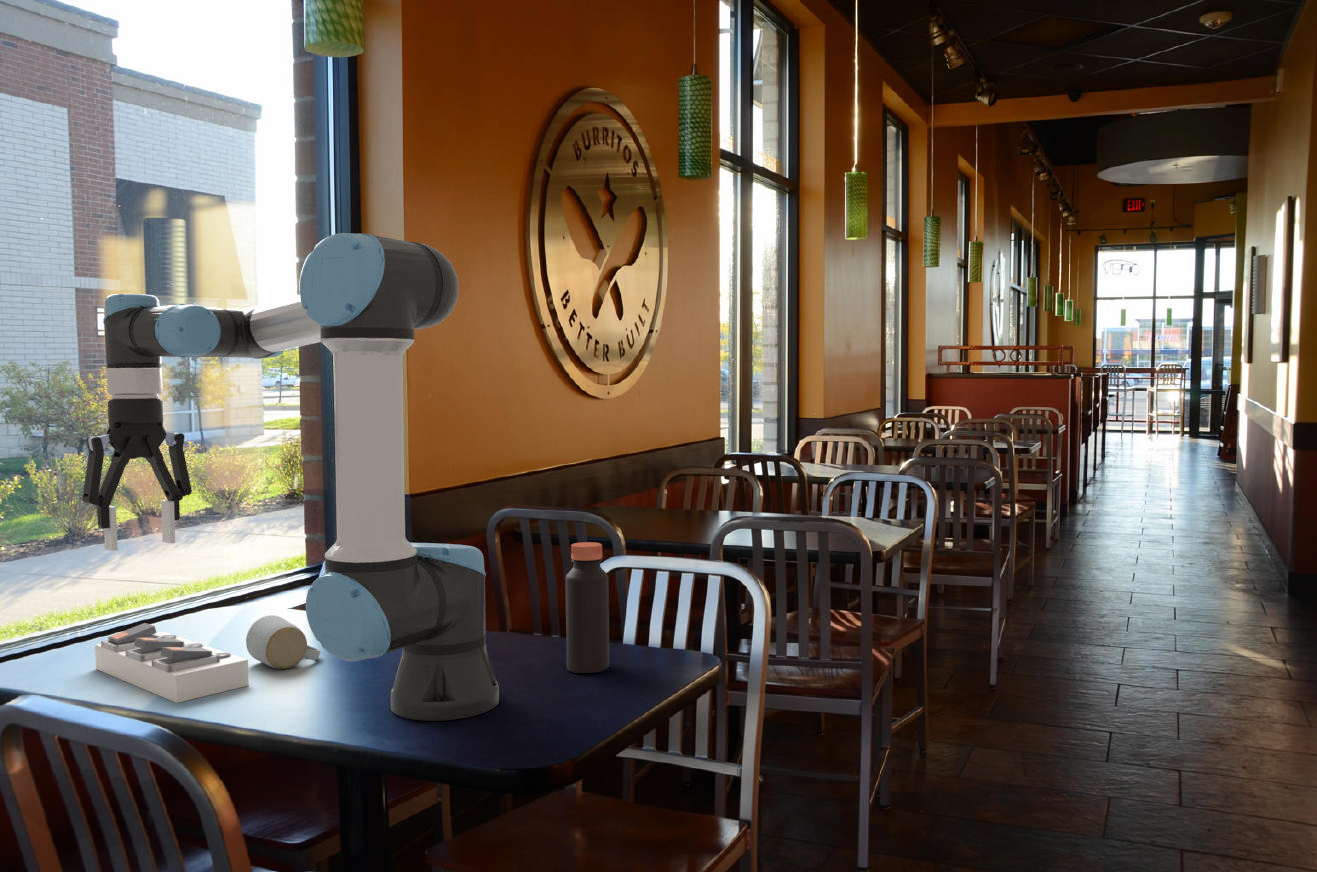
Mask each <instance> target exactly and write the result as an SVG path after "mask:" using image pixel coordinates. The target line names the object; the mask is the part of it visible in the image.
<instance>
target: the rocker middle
mask: <svg viewBox="0 0 1317 872" xmlns="http://www.w3.org/2000/svg"><path fill="white" fill-rule="evenodd" d="M183 645H184V642H183V641H180V640H177V639H174V638H135V644H134V646H137V647H139V648H142V649H162V647H183Z"/></svg>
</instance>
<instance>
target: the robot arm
mask: <svg viewBox="0 0 1317 872" xmlns="http://www.w3.org/2000/svg"><path fill="white" fill-rule="evenodd" d="M459 283H460V282H459V277H458V274H457V272H456V270H455V267H454V266H453V264H452V263H451V261H450V260H449V259H448V258H447V256H445V255H444V254H443V253H442V252H441V251H440V250H438V249H436V248H435V247H433V246H431V245H428V244H426V243H422V242H421V243H420V242H417V241H407V240H401V239H395V238H392V237H384V236H378V235H373V234H369V233H354V232H353V233H351V232H350V233H347V232H341V233H340V232H339V233H334V234H331V235H329V236H326V237H325V238H323V239H322V240H320V241H319V242H318V243H317V244H316V245H315V246H314V248H313V251H311V252H309V254H308V255H307V256H306V259H305V261H304V263H303V265H302V269H301V272H300V276H299V281H298V285H299V286H298V288H299V289H298V290H299V291H298V292H299V294H298V295H294V296H290V297H287V298H283V299H279V300H275V301H271V302H267V303H264V304H261V305H257V306H252V307H248V308H241V309H240V308H222V307H221V308H220V307H207V306H203V305H199V304H187V303H177V304H175V305H163V306H160V300H159V298H158V297H157V296H156V295H152V294H146V293H145V294H144V293H142V294H141V293H122V294H121V293H115V294H110V295H108V296H107V297H106V298H105V299H104V317H103V326H104V327H103V329H104V330H103V331H104V345H105V346H104V347H105V363H106V369H105V370H106V390H107V391H106V392H107V394H108V395H109V396H111V398H109V399H108V401H107V422H108V429H107V431H106V433H105V434H103V435H99V436H88V437H86V439H85V440H86V445H87V450H88V455H87V456H88V457H87V463H86V470H85V479H84V485H83V493H82V502H83V503H85V504H90V505H93V506H95V507H96V517H97V519H96V520H97V522H96V523H97V527H98V528H99V529H103V531H104V533H103V537H104V540H103V541H104V550H108V551H112V552H113V551H114V552H115V551H118V549H119V548H118V547H119V546H118V524H117V523H118V522H117V506H113V505H111V504H112V500H113V499H114V496H115V494H116V491H117V488H118V486H119V484H120V481H121V479H122V476H123V474H124V471H125V469H126V466H127V465H128V464H129V462H130V460H132V459H133V460H135V459H138V458H140V459H141V458H143V459H145V460H146V462H148V463H149V465H150V467H151V469H152V471H153V474H154V475H155V477H156V479H157V481H158V484H159V485H160V488H161V489H162V491H163V494H164V496H165V498H166V499H165V500H160V505H161V506H160V507H161V508H160V509H161V511H160V512H161V534H162V535H161V536H162V543H168V544H176V523H175V521H180V516H181V514H180V512H181V510H180V509H181V508H180V501H182V500H183V498H184V497H186V496H190V495H191V494H192V492H193V489H192V486H191V485H192V484H191V480H190V476H189V471H188V466H187V461H186V456H185V450H184V443H185V434H184V433H182V432H167V431H166V429H165V427H164V424H163V423H164V404H163V400H162V398H161V397H159V395H162V394H163V374H162V372H163V371H162V358H169V357H170V358H184V359H185V358H249V359H250V358H251V359H252V358H253V359H257V360H259V359H267V358H277V357H279V356H281V355H282V354H283V352H284V351H286V350H290V349H295V348H299V347H303V346H308V345H312V344H317V343H321V344H323V345H324V346H325V347H326V348H327V349H328V351H329V352H330V353H331V354H332V356H333V397H334V398H333V400H334V401H333V402H334V403H333V405H334V408H333V409H334V447H335V449H334V451H335V452H334V453H335V454H334V457H335V503H336V508H335V510H336V511H335V512H336V541H335V543H334V544H332V546H330V548H329V549H327V551H325V553H324V573H323V574H322V575H320V576H318V577H317V578H316V579H315V580H314V581H313V582H312V583H311V587H309V588H308V590H307V593H306V597H305V612H306V613H305V614H306V619H307V622H308V625H309V628H310V631H311V632H312V635H313V637H314V638H315V640H316V641H317V642H319V644H321V647H322V648H323V649H324V650H325V652H327V653H328V654H330V655H331V656H332V657H334V658H336V659H339V660H342V661H346V662H358V661H363V660H366V659H367V660H368V659H375V658H380V657H382V656H383V655H385V654H387V653H391V652H393V651H397V650H399V649H402V652H401V653H402V654H401V657H400V662H399V664H398V668H397V671H396V675H395V679H394V682H393V687H392V689H391V691H390V710H391V712H392V713H393V714H394V715H395V716H398V717H402V718H404V719H410V720H415V721H426V722H427V721H429V722H430V721H431V722H436V721H439V722H441V721H452V720H460V719H467V718H470V717H471V718H472V717H475V716H479V715H483V714H485V713H487V712H489V711H491V710H493V709H494V708H495V707H497V706H498V705H499V703H500V691H499V689H500V688H499V683H498V681H497V679H496V678H497V677H496V674H495V672H494V669H493V665H492V662H491V660H490V658H489V654H488V651H487V645H486V640H487V639H486V575H487V573H486V571H485V559H484V555H483V553H482V551H481V550H480V549H479V548H478V547H475V546H472V545H463V544H451V543H434V542H433V543H431V542H429V543H428V542H412V543H411V542H409V540H407V538H406V513H405V512H406V511H405V510H406V509H405V508H406V507H405V506H406V505H405V503H406V501H405V498H406V497H405V496H406V495H405V441H404V440H405V435H404V434H405V432H404V431H405V429H404V428H405V427H404V373H403V372H404V368H403V367H404V365H403V363H404V362H403V361H404V359H403V356H404V354H405V353H406V351H407V350H408V349H409V348H410V347H411V346H412V345H413V344H414V343H415V330H421V329H422V330H423V329H428V328H433V327H434V326H437V325H438V324H441V323H442V322H443V321H445V320H446V319H447V318H448V317H449V316H450V315H451V314H452V312H453V310H454V309H455V307H456V305H457V301H458V299H459V292H460V288H459V287H460V286H459ZM164 441H165V444H166V445H167V446H168V453H169V459H170V463H171V468H172V473H173V477H172V475H171V472H170V470H169V468H168V467H167V465H166V463H165V460H164V455H163V453H162V451H161V449H160V447H161V445H162V444H163V442H164ZM108 443H109V445H111V447H112V448H113V449H114V451H113V453H112V455H111V458H110V463H109V467H108V469H107V471H106V474H105V476H104V479H103V481H102V484H101V479H102V472H103V463H104V457H105V452H104V451H105V450H106V448H107V445H108ZM173 478H174V479H173Z"/></svg>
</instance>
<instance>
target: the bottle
mask: <svg viewBox="0 0 1317 872" xmlns="http://www.w3.org/2000/svg"><path fill="white" fill-rule="evenodd" d="M570 550H571V551H570V557H571V562H572V563H573V566H572V568H571V569H570V570H569V571H568V573H567V574H566V576H565V625H566V627H565V630H566V631H565V634H566V637H565V639H566V669H567V671H569V672H570V671H571V672H570V673H573V672H574V673H573V674H577V673H594V672H599V671H602V670H604V669H606V668H608V667H609V668H610V612H609V611H610V610H609V609H610V607H609V605H610V604H609V603H610V601H609V598H610V597H609V593H610V591H609V576H608V573H607V572H606V571H605V570H604V569H603V567H601V563H602V561H603V544H602V543H600V542H595V541H593V542H591V541H589V542H588V541H586V542H583V541H582V542H575V543H572V544H570ZM609 668H608V669H609Z"/></svg>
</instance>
